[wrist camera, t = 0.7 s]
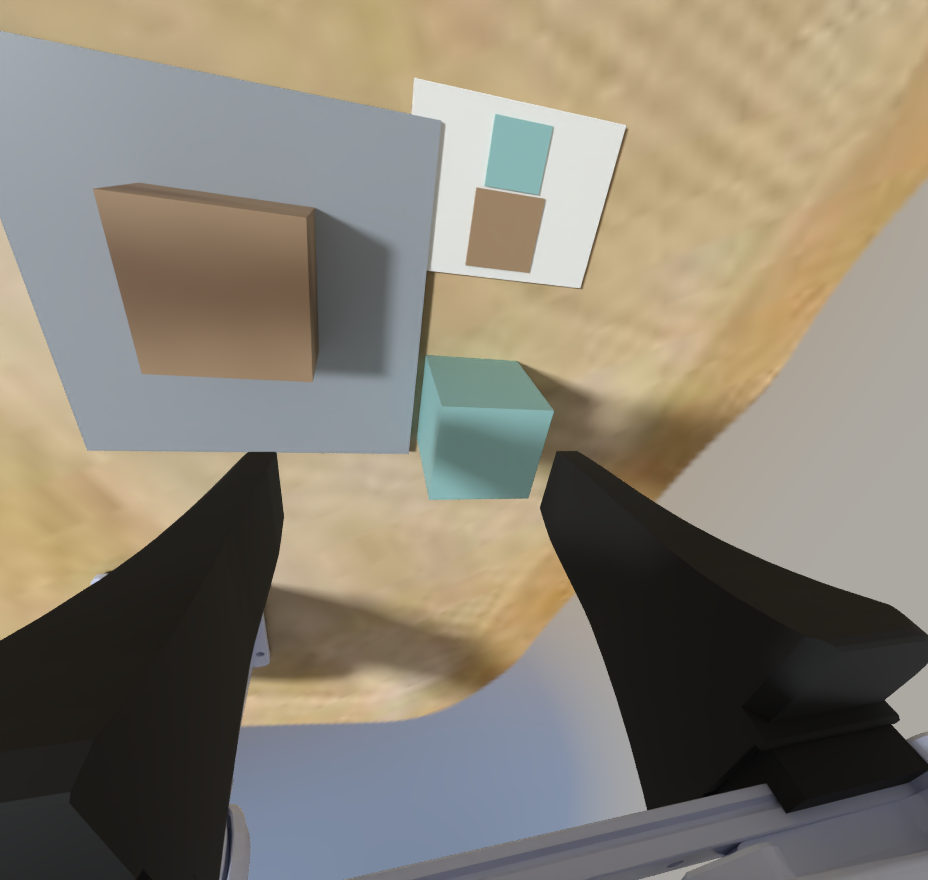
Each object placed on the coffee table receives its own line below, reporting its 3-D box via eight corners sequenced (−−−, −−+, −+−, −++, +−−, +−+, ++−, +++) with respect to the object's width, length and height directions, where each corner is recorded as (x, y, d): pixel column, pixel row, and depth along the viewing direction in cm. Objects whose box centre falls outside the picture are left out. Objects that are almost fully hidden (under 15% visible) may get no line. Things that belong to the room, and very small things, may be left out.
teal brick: (499, 437, 23) (528, 498, 19) (416, 436, 22) (429, 499, 18) (516, 360, 21) (554, 410, 17) (425, 354, 20) (442, 406, 16)
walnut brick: (319, 351, 18) (312, 382, 16) (173, 342, 17) (141, 374, 15) (314, 207, 16) (306, 217, 13) (138, 182, 14) (92, 188, 12)
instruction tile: (578, 287, 20) (581, 288, 19) (400, 266, 18) (401, 268, 17) (623, 125, 16) (627, 125, 16) (413, 78, 14) (414, 77, 14)
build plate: (408, 449, 23) (408, 453, 22) (92, 445, 19) (87, 450, 19) (439, 121, 15) (441, 120, 15) (-64, 19, 12) (-76, 15, 11)
